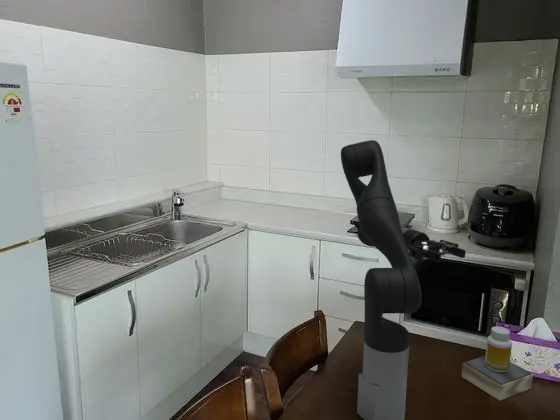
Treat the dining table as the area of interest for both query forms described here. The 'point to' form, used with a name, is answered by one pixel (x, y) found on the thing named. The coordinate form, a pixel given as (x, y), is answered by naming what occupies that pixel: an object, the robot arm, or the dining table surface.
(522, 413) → the dining table surface
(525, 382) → the plinth
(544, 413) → the dining table surface
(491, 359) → the supplement bottle
